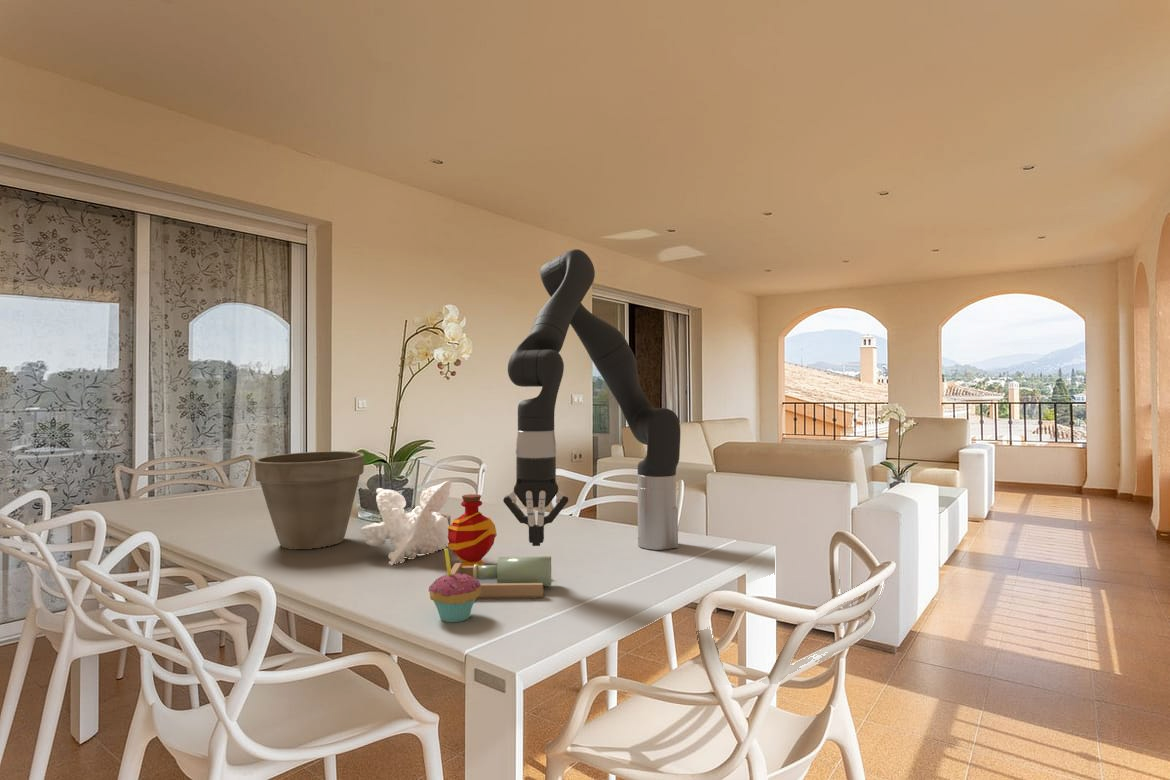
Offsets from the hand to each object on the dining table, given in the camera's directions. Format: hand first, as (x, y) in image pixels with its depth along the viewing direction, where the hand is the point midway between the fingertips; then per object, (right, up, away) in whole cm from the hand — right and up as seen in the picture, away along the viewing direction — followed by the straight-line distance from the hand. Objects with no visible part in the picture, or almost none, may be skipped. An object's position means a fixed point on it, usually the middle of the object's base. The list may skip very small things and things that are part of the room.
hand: (536, 545), depth 124 cm
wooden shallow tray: (-8, -8, 0) cm, 11 cm away
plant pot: (-58, -8, +37) cm, 70 cm away
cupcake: (-12, -8, -16) cm, 22 cm away
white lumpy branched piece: (-31, -8, +25) cm, 41 cm away
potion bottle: (-15, -8, +16) cm, 23 cm away
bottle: (+3, -5, 0) cm, 6 cm away
